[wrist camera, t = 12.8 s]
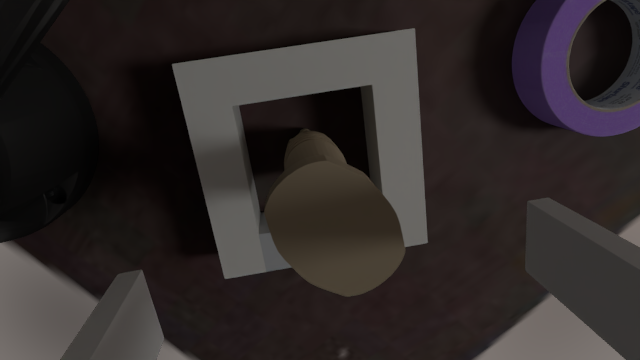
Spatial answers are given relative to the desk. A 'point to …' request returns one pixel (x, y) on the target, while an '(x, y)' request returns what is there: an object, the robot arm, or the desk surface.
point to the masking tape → (553, 70)
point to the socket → (289, 81)
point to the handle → (332, 219)
